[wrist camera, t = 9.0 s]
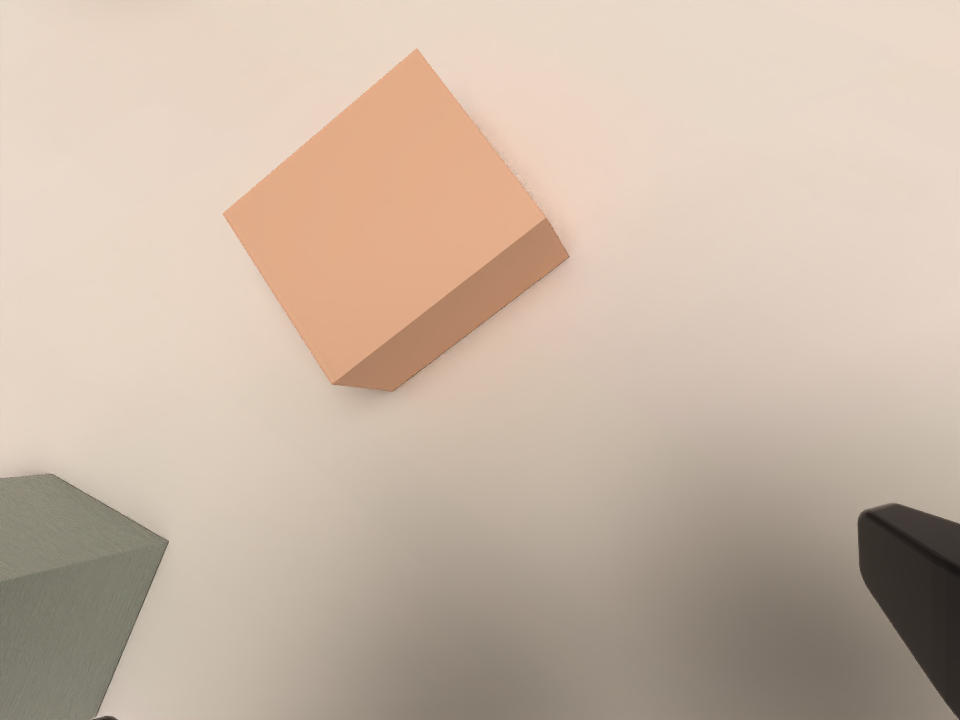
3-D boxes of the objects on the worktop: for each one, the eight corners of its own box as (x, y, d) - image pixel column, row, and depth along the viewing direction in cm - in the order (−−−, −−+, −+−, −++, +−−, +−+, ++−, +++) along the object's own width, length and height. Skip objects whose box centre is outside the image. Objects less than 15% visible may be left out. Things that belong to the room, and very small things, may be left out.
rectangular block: (569, 256, 20) (545, 217, 16) (392, 391, 21) (331, 384, 17) (462, 116, 21) (417, 48, 17) (299, 249, 22) (222, 214, 18)
